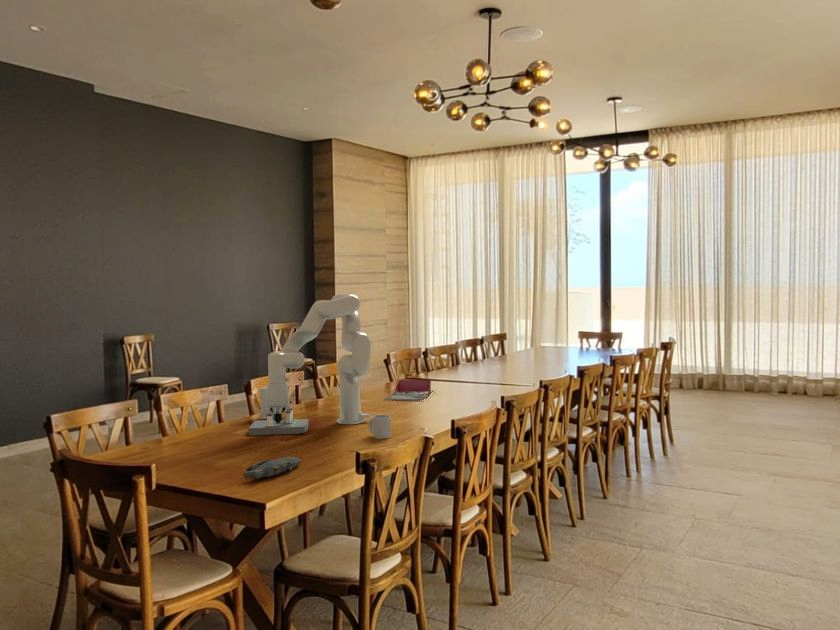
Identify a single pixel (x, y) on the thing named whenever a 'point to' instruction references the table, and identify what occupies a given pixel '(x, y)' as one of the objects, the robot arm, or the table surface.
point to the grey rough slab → (271, 467)
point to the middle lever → (288, 416)
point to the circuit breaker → (263, 404)
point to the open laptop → (411, 390)
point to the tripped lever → (269, 419)
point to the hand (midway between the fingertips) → (278, 422)
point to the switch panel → (278, 427)
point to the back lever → (291, 413)
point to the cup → (380, 426)
